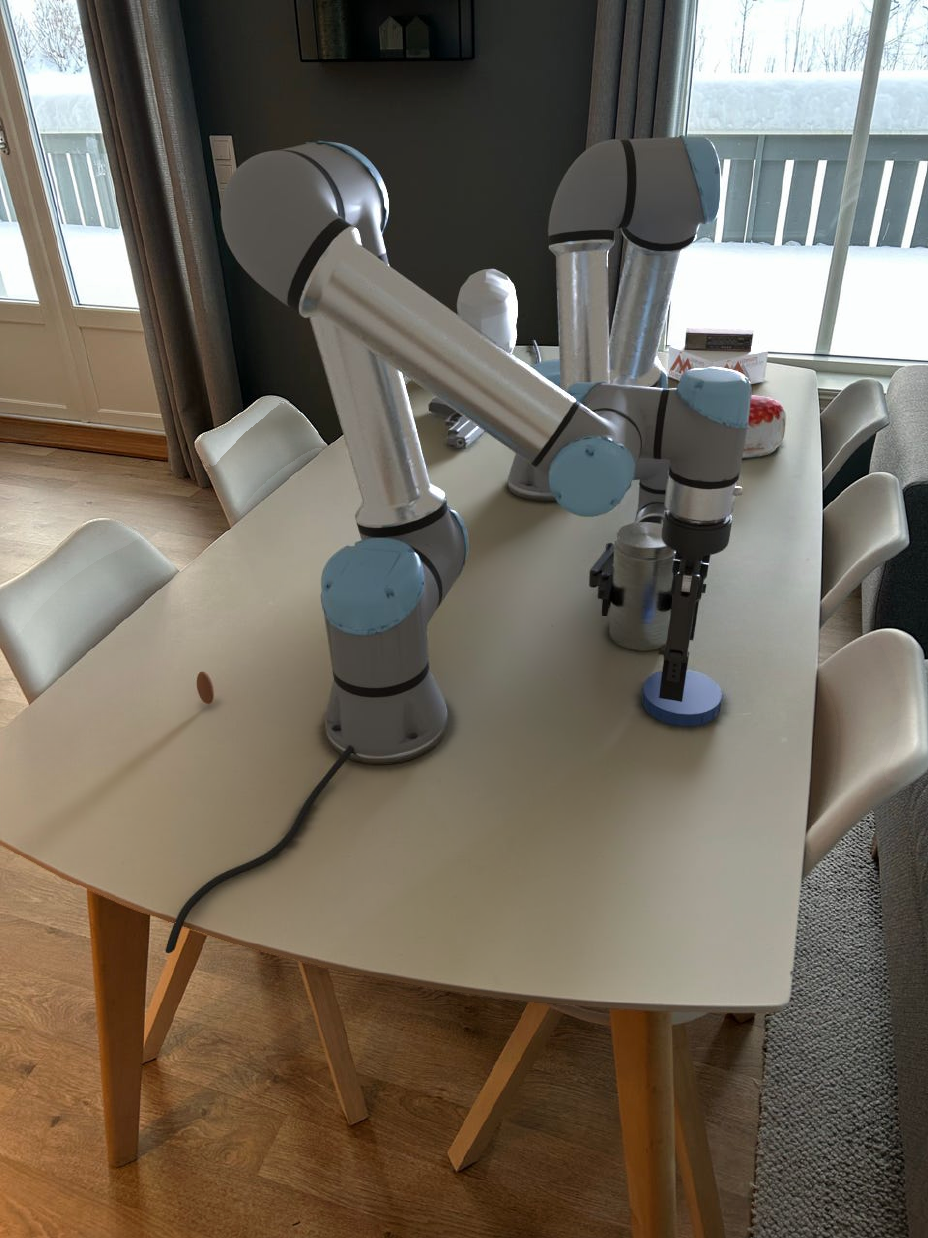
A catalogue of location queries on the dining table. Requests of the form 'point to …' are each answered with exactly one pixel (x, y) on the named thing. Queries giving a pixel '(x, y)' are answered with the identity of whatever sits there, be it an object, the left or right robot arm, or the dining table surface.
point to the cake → (764, 426)
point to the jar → (641, 587)
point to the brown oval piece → (205, 687)
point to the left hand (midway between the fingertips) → (677, 666)
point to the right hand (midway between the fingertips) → (638, 611)
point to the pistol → (456, 425)
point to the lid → (684, 700)
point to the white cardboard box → (718, 353)
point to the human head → (490, 306)
